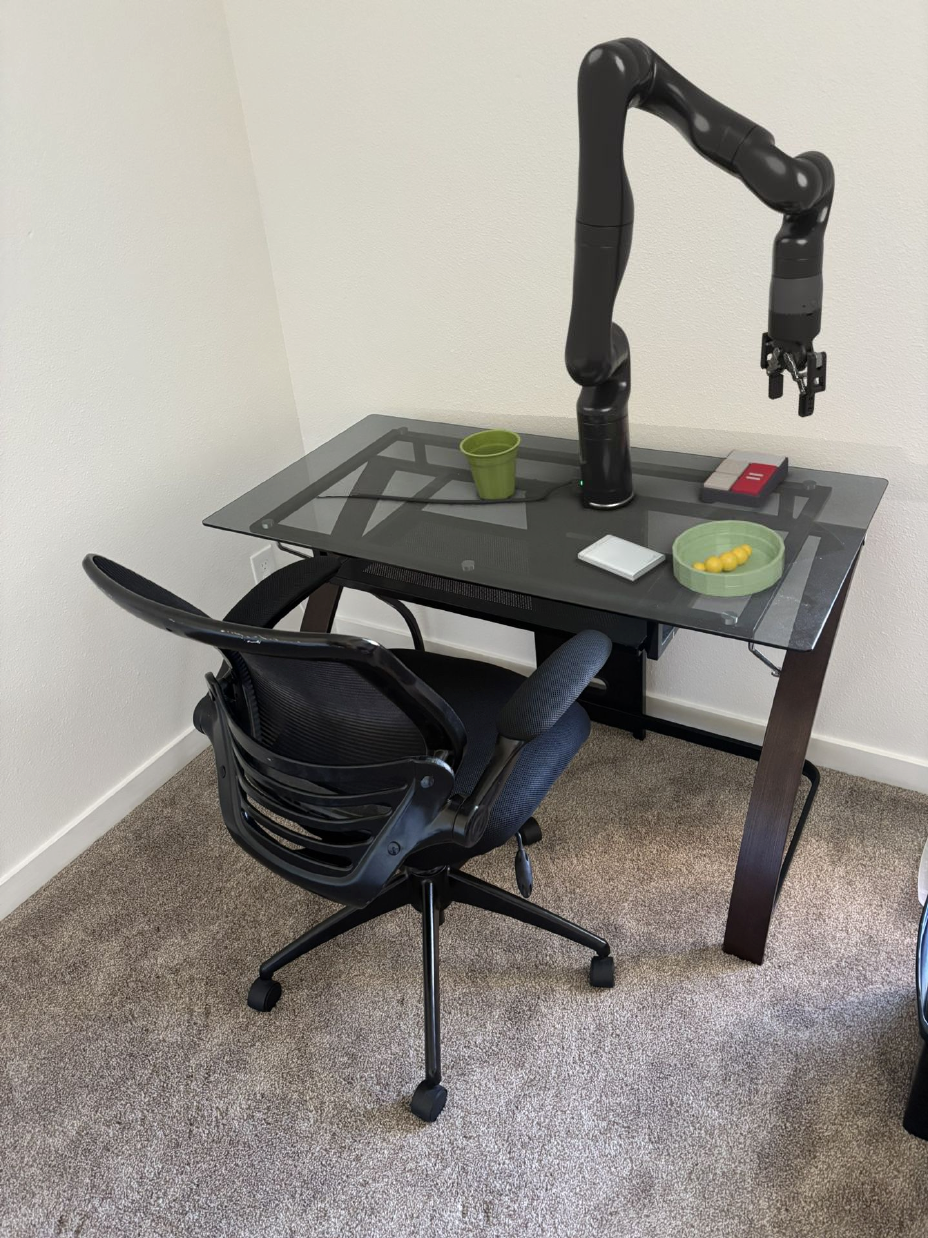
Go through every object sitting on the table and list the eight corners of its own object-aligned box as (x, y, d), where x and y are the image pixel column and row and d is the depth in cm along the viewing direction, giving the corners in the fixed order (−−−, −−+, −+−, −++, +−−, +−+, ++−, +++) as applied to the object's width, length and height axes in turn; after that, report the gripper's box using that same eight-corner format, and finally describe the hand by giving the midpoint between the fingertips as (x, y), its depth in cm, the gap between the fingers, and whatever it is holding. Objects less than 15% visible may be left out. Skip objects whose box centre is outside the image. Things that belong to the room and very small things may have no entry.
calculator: (699, 484, 171) (732, 445, 180) (700, 504, 173) (732, 465, 182) (758, 493, 165) (789, 453, 174) (758, 514, 167) (788, 473, 176)
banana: (704, 585, 149) (704, 568, 148) (688, 574, 153) (688, 557, 151) (764, 562, 152) (764, 545, 150) (747, 551, 156) (748, 534, 154)
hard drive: (665, 554, 157) (609, 532, 166) (632, 575, 153) (577, 552, 162) (665, 562, 158) (610, 540, 166) (633, 584, 154) (578, 560, 163)
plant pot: (482, 514, 182) (473, 461, 176) (459, 491, 192) (450, 440, 185) (537, 495, 185) (530, 443, 179) (512, 474, 194) (505, 423, 188)
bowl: (676, 603, 148) (676, 579, 145) (670, 547, 162) (669, 524, 159) (791, 596, 144) (792, 571, 142) (774, 539, 158) (775, 516, 156)
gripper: (747, 297, 144) (745, 398, 153) (799, 320, 132) (794, 428, 142) (791, 286, 145) (786, 387, 154) (847, 308, 134) (838, 416, 143)
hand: (790, 406), depth 148 cm, fingers open, 8 cm apart
